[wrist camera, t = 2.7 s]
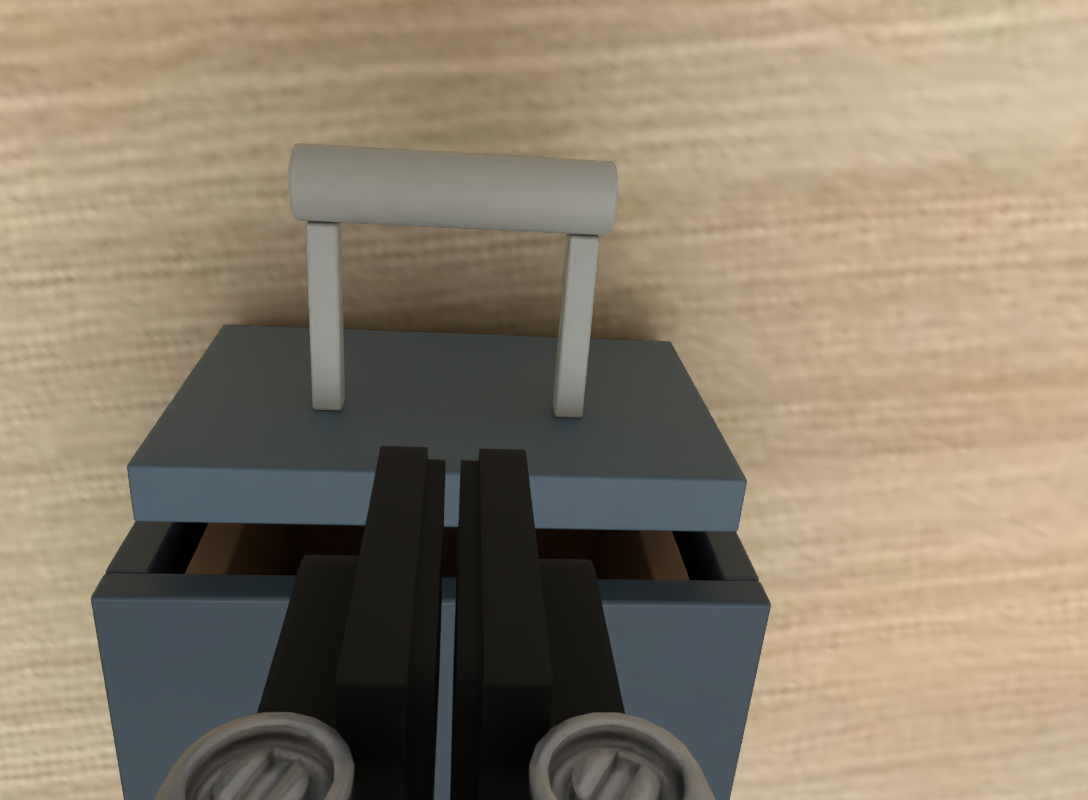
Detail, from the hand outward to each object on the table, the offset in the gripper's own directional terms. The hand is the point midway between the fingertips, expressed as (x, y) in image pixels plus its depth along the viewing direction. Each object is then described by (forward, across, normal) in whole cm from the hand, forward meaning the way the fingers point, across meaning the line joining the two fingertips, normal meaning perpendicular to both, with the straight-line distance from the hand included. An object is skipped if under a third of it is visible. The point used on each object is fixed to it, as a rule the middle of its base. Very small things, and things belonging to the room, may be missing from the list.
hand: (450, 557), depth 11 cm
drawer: (+13, 0, +6) cm, 14 cm away
